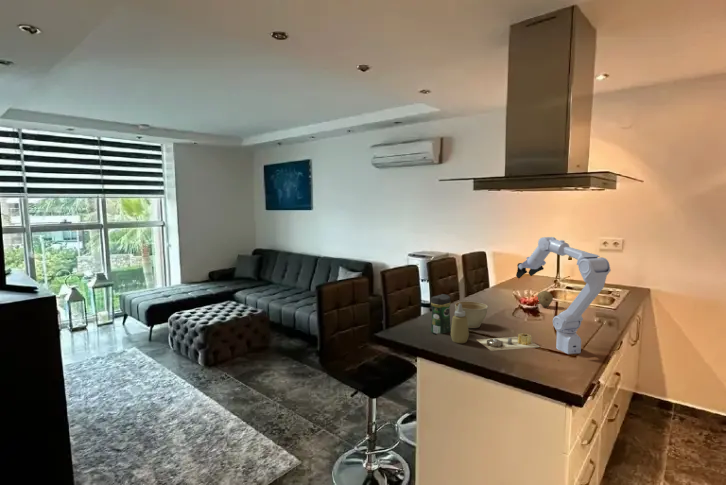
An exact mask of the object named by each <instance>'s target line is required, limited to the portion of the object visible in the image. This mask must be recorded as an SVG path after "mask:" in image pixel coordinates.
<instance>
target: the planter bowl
mask: <svg viewBox="0 0 726 485" xmlns="http://www.w3.org/2000/svg"><path fill="white" fill-rule="evenodd" d="M459 304H462V309H463V311H464V312H465V316H466V317H467V320H468V329H478V328H480V327H481V325H482V323H483V322H484V320H485V319H486V316H487V315H488V314H487V311H488V309H489V308H488V305H487V304H485V303H482V302H478V301H458V302H456V303H455V304H454V307H455V311H457V309H458V305H459Z"/></svg>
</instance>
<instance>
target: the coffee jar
mask: <svg viewBox="0 0 726 485" xmlns="http://www.w3.org/2000/svg"><path fill="white" fill-rule="evenodd" d="M430 299H431V300H430V305H431V320H430V321H431V323H430V331H431V333H432V334H434V335H437V334H445V333H446V334H447V333H448V334H449V333H451V311H450V309H451V296H449V294H445V293H441V294H438V295H434V296H432V297H431V298H430Z"/></svg>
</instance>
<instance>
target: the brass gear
mask: <svg viewBox="0 0 726 485" xmlns="http://www.w3.org/2000/svg"><path fill="white" fill-rule="evenodd" d="M531 335H532V334H530V333H529V334H528V333H522V332H521V333H518V334H517V337H518V343H519V344H522V345H529V344H531V342H532V336H531Z"/></svg>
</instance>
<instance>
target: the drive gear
mask: <svg viewBox="0 0 726 485" xmlns="http://www.w3.org/2000/svg"><path fill="white" fill-rule="evenodd" d="M489 339H490V340H487V345H488V346H491V347H498V348H500V347H503V341H500V340H498V339H492V338H489Z"/></svg>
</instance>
